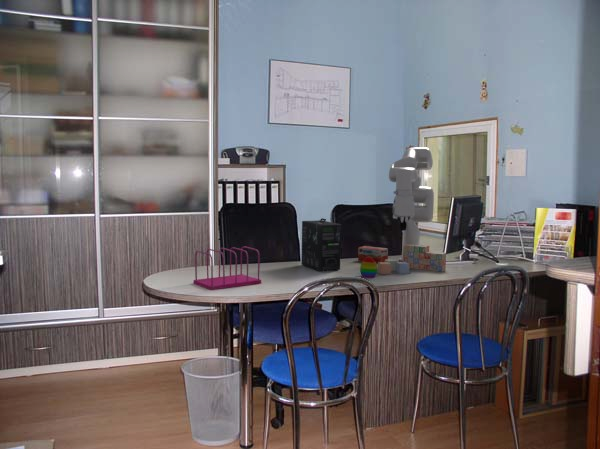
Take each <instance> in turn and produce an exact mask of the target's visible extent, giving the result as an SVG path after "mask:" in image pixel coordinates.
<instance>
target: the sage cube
mask: <svg viewBox="0 0 600 449" xmlns="http://www.w3.org/2000/svg"><path fill="white" fill-rule="evenodd" d="M385 262H388V263H391V271H395V268H396V262H399V260H397V259H394V258H391V259H390V258H389V259H386V260H385Z"/></svg>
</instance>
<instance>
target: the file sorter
mask: <svg viewBox="0 0 600 449" xmlns="http://www.w3.org/2000/svg"><path fill="white" fill-rule="evenodd" d="M244 248H245V249H250V250H253V251H256V253H257V278H256V277H253V276H250V275H249V254H248V251H247V250H244ZM233 249H234V250H238V251H240V274H238V256H237V253H236V252H235V251H234V250H233ZM222 250H225V251H228V252H229V275H225V271H226V270H225V256H224V253H223V252H222ZM209 251H210V252H211V251H212V252H217V253H218V276H217V277H214V275H213V274H214V273H213V272H214V268H213V267H214V266H213V264H214V263H213V256H212V254H211V253H209ZM243 252H244V253H245V255H246V274H243ZM198 253H200V254H204V255H205V256H206V278H199V279H198V269H197V268H198V265H197V264H198V263H197V262H198V261H197V259H198V258H197V254H198ZM232 253H233V254H234V257H235V270H234V271H235V273H234V275H233V274H232ZM221 256H222V276H221ZM209 257H210V262H211V263H210V268H211V269H210V274H211V275H210V276H211V277H209ZM260 258H261V254H260V251H259V250H258V249H256V248H254V247H253V248H252V247H249V246H242V247H241V248H239V247H238V248H237V247H234V246H232V247H231V248H230V249H229V248H226V247H220V248H219V250H216V249H212V248H208V249H207V250H206V252H205V251H201V250H197V251H195V253H194V269H195V270H194V272H195V273H194V274H195V277H194V278H195V279H193V282H192V283H193V285H197V286H199V287H202V288H205V289H208V290H210V291H211V290H214V291H215V290H220V289H226V288H235V287H241V286H250V285H251V286H252V285H259V283H260V284H262V279H261V278H260V265H261V264H260V262H261V259H260Z"/></svg>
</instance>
